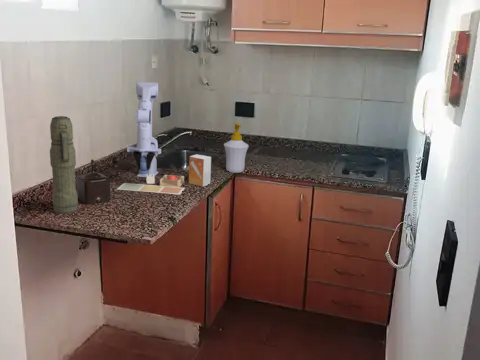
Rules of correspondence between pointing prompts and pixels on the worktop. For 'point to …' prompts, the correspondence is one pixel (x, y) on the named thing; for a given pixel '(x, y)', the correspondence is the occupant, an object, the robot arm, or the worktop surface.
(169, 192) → the game mat
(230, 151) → the soap bottle
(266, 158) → the worktop surface
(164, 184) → the frame
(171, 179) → the dome button
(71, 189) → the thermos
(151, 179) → the ivory die
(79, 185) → the dark brown coffee grinder
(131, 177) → the worktop surface
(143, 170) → the pawn
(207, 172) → the small box
